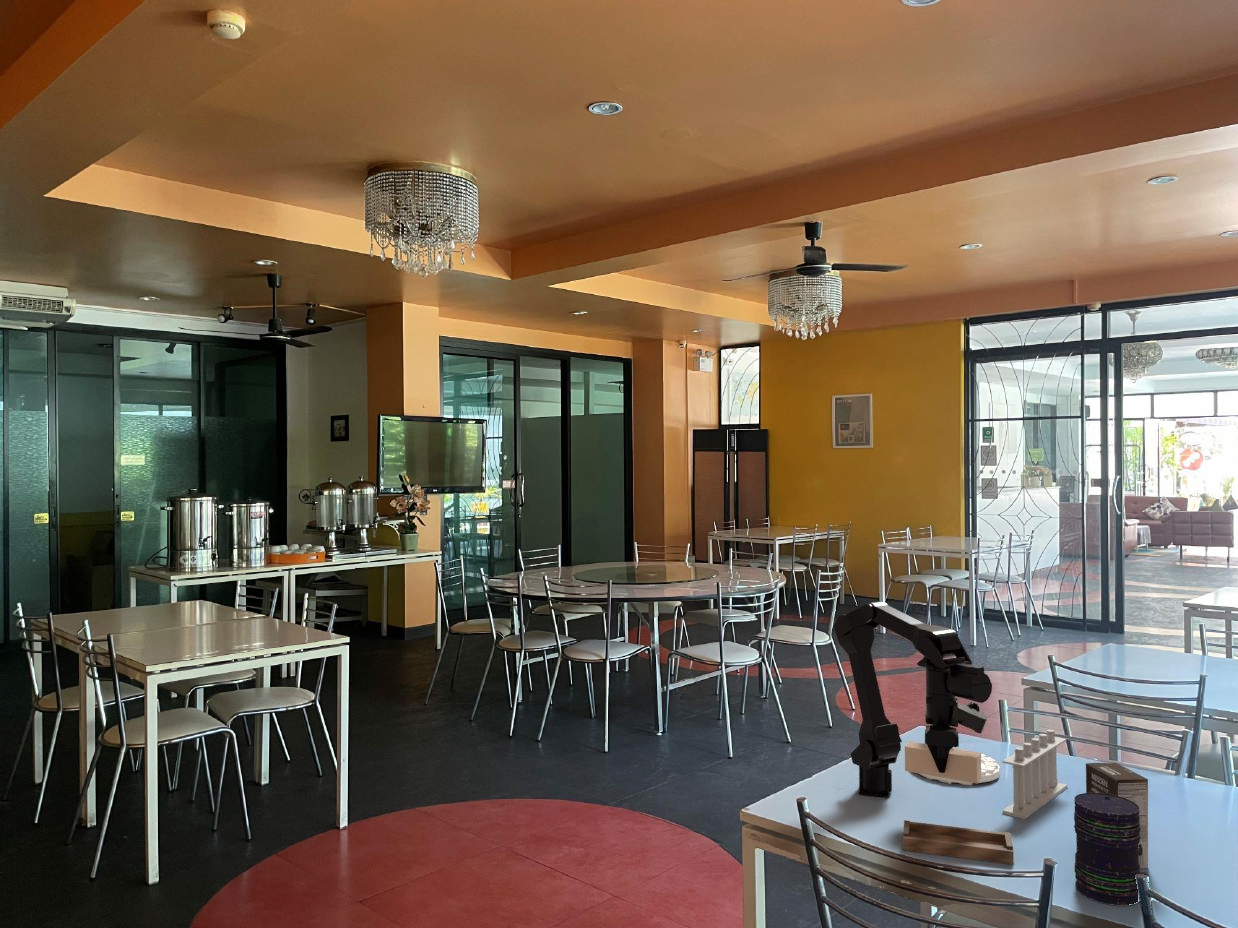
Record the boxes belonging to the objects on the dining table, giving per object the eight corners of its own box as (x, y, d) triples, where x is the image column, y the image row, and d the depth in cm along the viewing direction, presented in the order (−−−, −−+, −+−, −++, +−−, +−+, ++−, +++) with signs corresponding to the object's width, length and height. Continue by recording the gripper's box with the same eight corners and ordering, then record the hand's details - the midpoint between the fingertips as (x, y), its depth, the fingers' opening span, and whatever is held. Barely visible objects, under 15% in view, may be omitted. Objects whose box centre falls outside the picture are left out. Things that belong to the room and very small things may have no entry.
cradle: (903, 849, 166) (903, 834, 166) (904, 832, 174) (904, 818, 174) (1013, 864, 160) (1013, 848, 160) (1009, 845, 168) (1009, 830, 168)
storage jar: (1140, 911, 142) (1139, 818, 143) (1072, 896, 148) (1070, 806, 148) (1142, 886, 151) (1141, 799, 151) (1077, 873, 156) (1076, 788, 156)
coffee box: (1084, 848, 166) (1083, 762, 166) (1117, 846, 167) (1116, 761, 167) (1116, 870, 157) (1115, 778, 157) (1150, 868, 158) (1149, 777, 158)
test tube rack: (1024, 819, 180) (1023, 754, 181) (1002, 813, 184) (1001, 749, 184) (1067, 788, 198) (1066, 728, 198) (1046, 783, 201) (1046, 724, 201)
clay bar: (905, 770, 182) (904, 746, 182) (910, 765, 185) (910, 741, 185) (977, 783, 174) (976, 757, 174) (981, 777, 177) (981, 752, 177)
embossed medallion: (935, 753, 224) (935, 742, 224) (1014, 772, 209) (1014, 759, 209) (894, 772, 210) (894, 759, 210) (975, 793, 196) (974, 779, 196)
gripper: (986, 706, 168) (987, 788, 168) (981, 683, 186) (982, 758, 186) (924, 701, 172) (925, 782, 172) (925, 680, 190) (926, 753, 189)
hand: (941, 768), depth 180 cm, fingers closed on clay bar, 4 cm apart
